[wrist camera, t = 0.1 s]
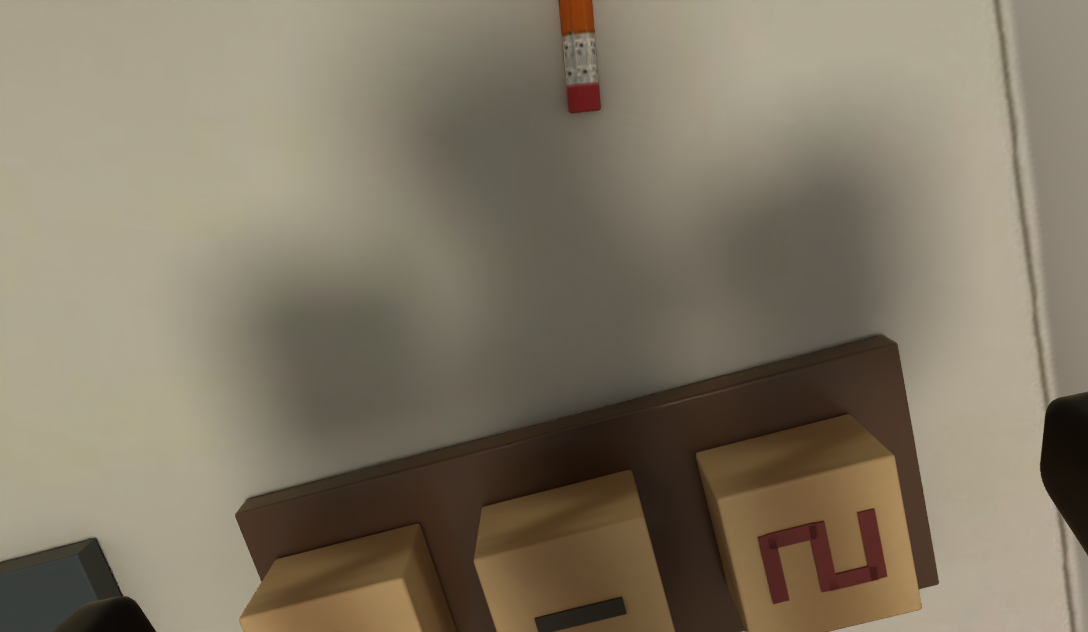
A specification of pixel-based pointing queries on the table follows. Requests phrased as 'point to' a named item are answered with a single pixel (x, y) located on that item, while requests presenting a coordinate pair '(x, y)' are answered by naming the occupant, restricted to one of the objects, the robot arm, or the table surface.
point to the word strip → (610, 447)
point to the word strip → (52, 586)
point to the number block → (811, 528)
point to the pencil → (580, 55)
